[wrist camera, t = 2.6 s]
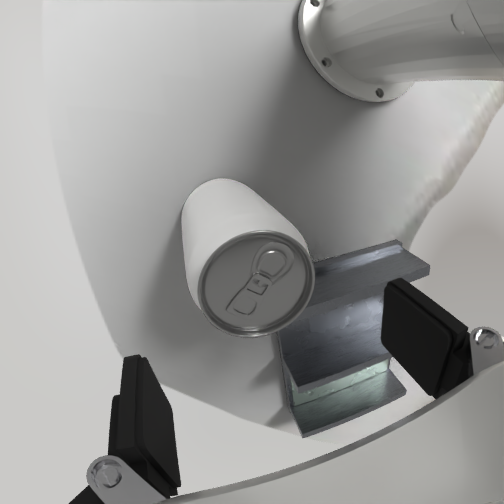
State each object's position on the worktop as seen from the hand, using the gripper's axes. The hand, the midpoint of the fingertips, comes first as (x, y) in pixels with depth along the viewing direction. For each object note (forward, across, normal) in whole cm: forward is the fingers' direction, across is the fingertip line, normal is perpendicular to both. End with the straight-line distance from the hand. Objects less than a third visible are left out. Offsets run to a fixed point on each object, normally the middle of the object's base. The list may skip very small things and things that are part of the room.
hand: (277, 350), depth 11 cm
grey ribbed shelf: (+16, -11, +15) cm, 25 cm away
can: (+16, -1, -1) cm, 16 cm away
